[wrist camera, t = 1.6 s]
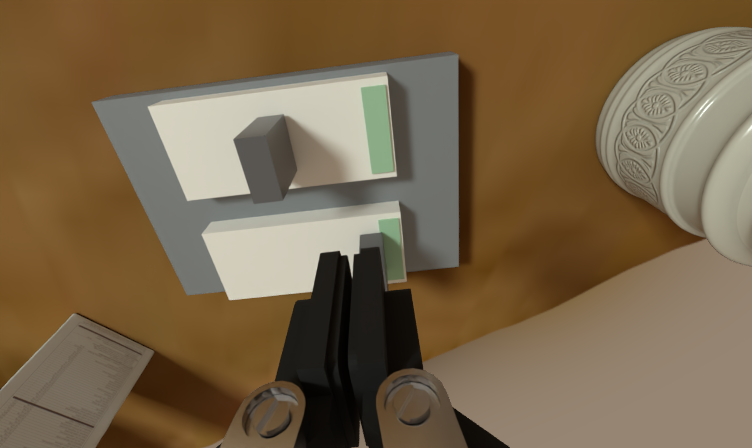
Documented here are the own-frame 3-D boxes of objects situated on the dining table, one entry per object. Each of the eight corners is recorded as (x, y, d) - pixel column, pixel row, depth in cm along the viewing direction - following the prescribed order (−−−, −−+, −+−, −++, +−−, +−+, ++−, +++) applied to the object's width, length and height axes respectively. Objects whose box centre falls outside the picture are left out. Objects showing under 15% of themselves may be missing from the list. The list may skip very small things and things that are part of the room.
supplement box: (42, 354, 42) (-133, 535, 27) (73, 310, 38) (-107, 489, 24) (123, 389, 45) (6, 567, 30) (158, 351, 42) (45, 530, 27)
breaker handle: (359, 234, 29) (358, 273, 24) (382, 232, 29) (384, 270, 24) (366, 274, 31) (365, 316, 26) (387, 272, 31) (390, 314, 26)
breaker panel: (113, 95, 28) (69, 108, 24) (450, 51, 27) (465, 57, 22) (197, 278, 37) (176, 311, 32) (453, 251, 36) (464, 281, 31)
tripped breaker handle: (257, 117, 24) (233, 139, 20) (283, 114, 24) (265, 135, 20) (272, 173, 26) (253, 204, 22) (297, 170, 26) (283, 200, 22)
